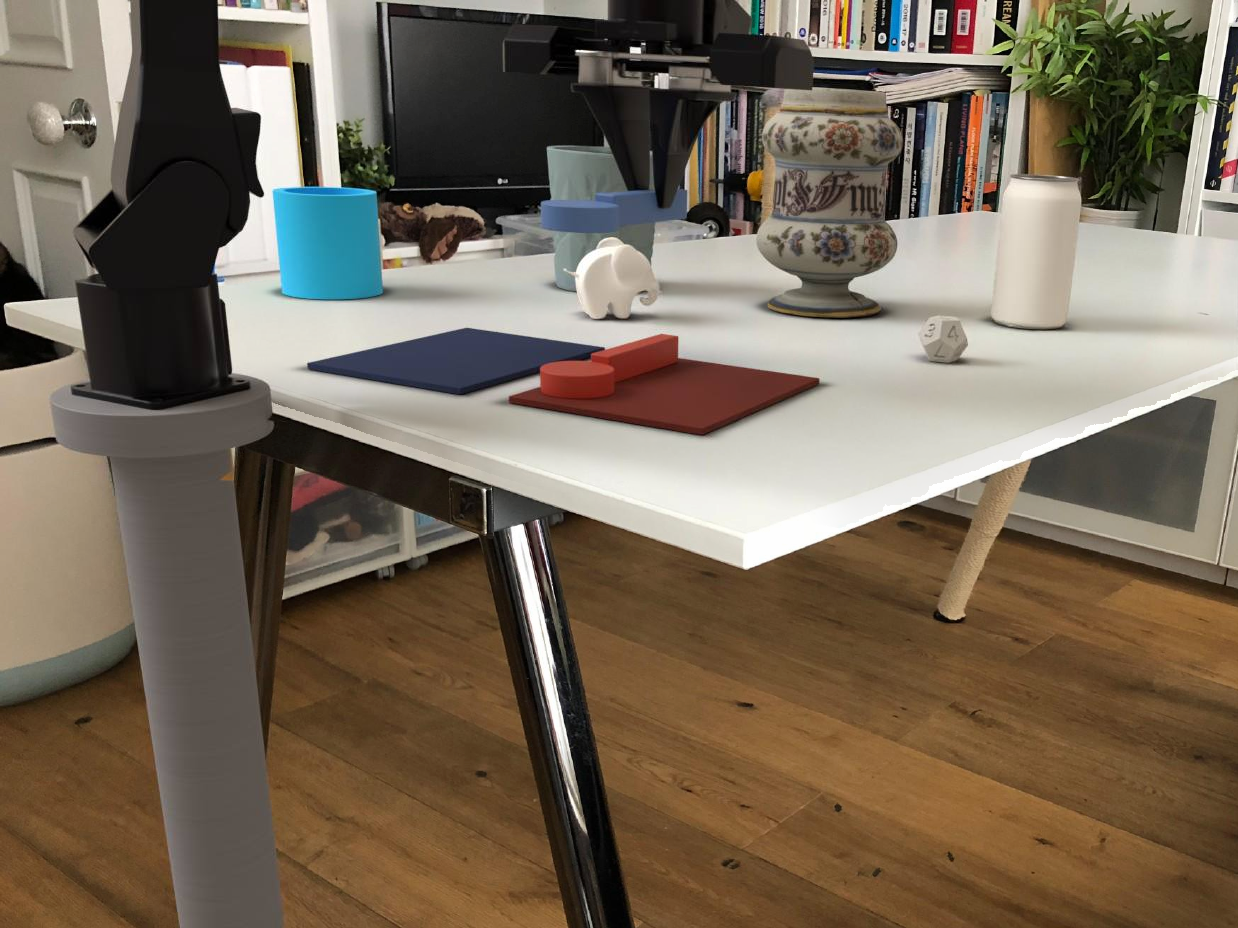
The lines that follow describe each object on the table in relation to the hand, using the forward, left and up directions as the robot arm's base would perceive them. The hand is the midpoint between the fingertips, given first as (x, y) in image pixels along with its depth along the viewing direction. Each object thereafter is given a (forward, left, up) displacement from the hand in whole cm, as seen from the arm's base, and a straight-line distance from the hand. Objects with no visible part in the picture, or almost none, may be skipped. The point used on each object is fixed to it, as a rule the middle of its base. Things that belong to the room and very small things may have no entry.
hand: (652, 207), depth 82 cm
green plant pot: (+31, +23, -11) cm, 40 cm away
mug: (+14, +40, -11) cm, 44 cm away
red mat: (-3, -3, -11) cm, 12 cm away
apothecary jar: (+33, +2, -11) cm, 35 cm away
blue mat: (-3, +13, -11) cm, 17 cm away
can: (+38, -15, -11) cm, 42 cm away
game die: (+18, -14, -11) cm, 25 cm away
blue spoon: (-3, 0, -1) cm, 4 cm away
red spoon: (-3, +1, -10) cm, 11 cm away
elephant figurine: (+18, +14, -11) cm, 25 cm away
